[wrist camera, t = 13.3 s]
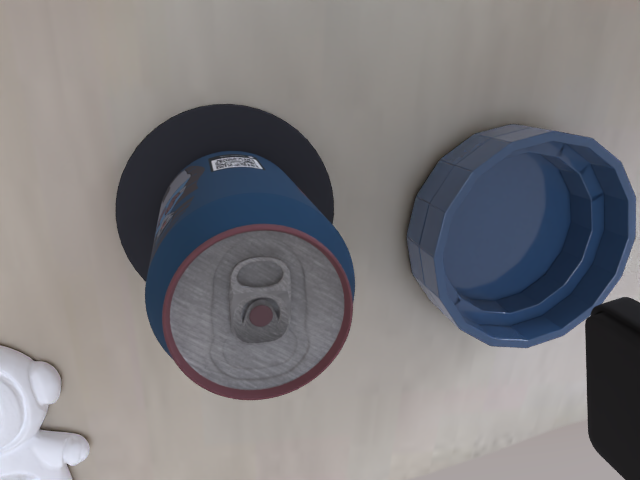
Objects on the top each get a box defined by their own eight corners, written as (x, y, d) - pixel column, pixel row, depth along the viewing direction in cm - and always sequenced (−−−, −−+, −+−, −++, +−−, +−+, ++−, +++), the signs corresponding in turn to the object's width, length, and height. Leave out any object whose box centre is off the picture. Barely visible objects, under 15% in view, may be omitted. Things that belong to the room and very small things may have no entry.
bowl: (581, 103, 30) (637, 108, 26) (586, 285, 34) (635, 311, 30) (390, 153, 28) (420, 166, 24) (420, 339, 32) (450, 374, 29)
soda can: (297, 273, 29) (366, 403, 17) (165, 282, 27) (149, 431, 16) (298, 146, 26) (378, 201, 15) (155, 147, 25) (129, 210, 14)
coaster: (308, 81, 26) (310, 81, 26) (348, 278, 30) (351, 280, 29) (82, 134, 24) (81, 135, 24) (156, 335, 28) (156, 338, 28)
